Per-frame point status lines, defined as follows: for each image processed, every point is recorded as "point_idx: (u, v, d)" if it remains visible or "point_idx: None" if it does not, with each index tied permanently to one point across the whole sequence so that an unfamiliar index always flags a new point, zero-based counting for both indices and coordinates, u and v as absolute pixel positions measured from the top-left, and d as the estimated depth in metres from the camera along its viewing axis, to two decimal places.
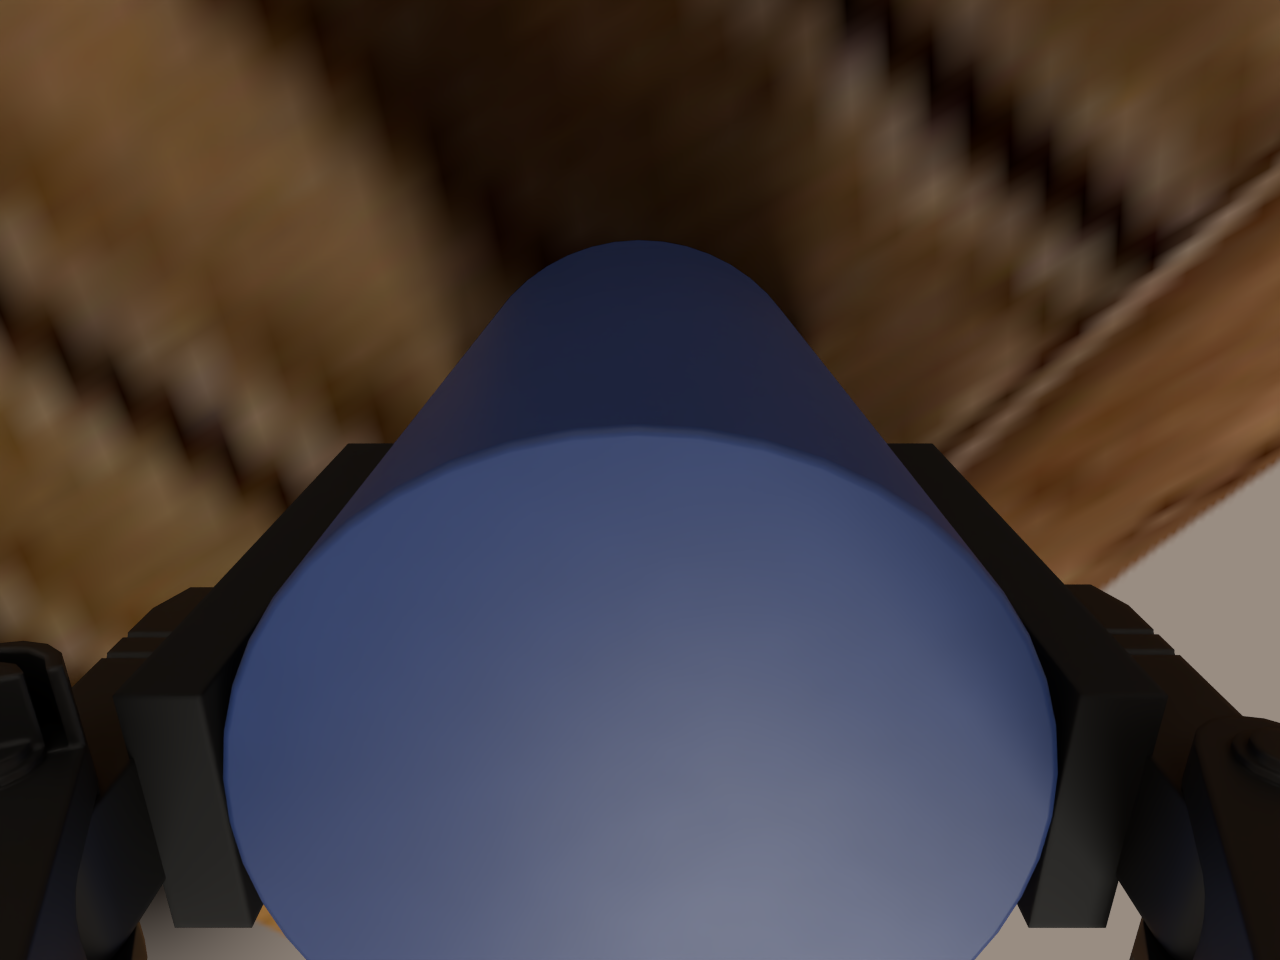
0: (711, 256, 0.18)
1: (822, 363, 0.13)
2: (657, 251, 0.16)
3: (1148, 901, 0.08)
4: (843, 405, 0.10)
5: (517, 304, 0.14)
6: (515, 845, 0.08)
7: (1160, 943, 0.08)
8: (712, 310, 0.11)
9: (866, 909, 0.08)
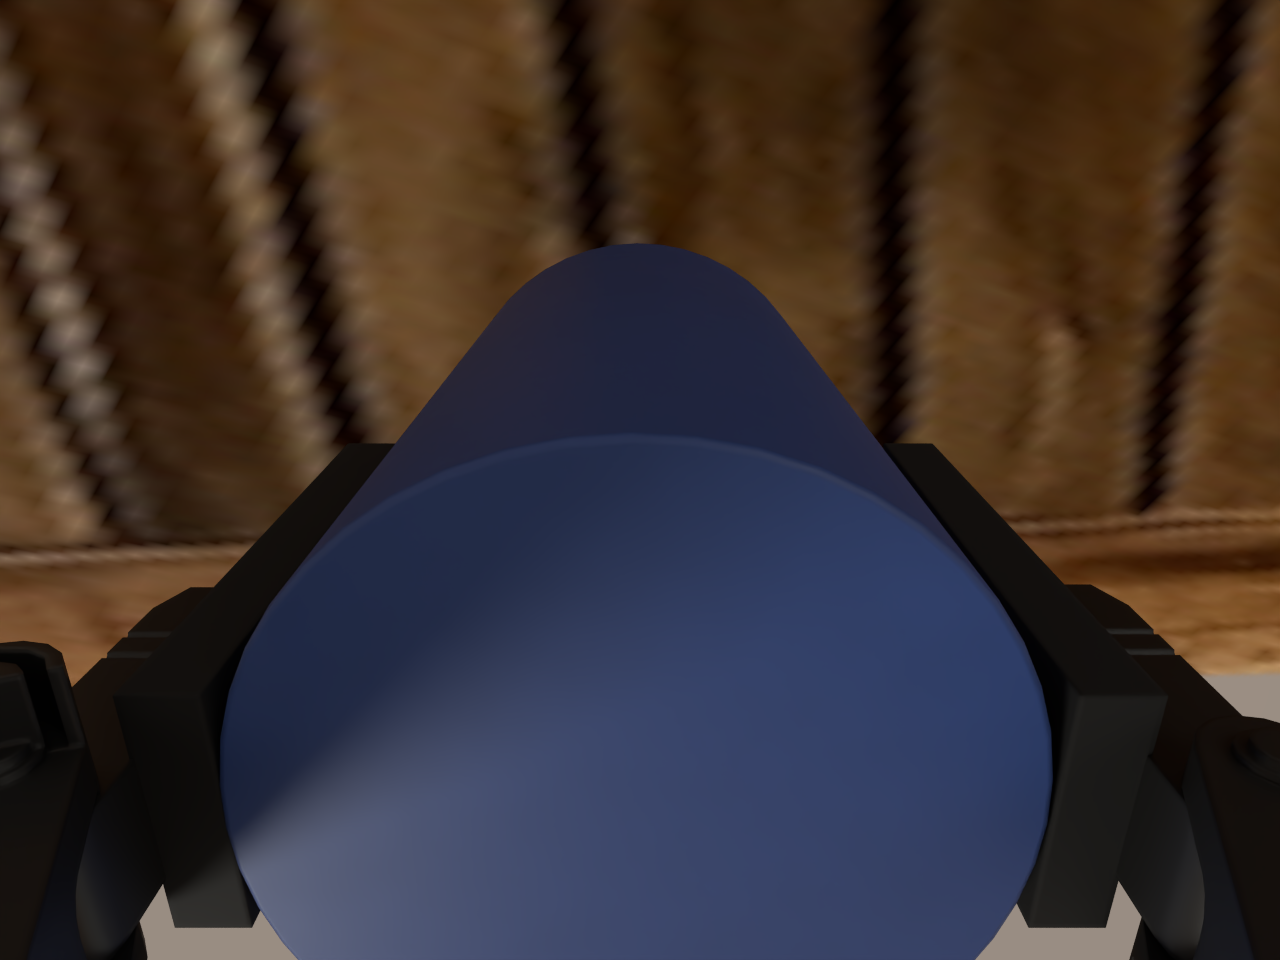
0: (709, 259, 0.18)
1: (819, 368, 0.13)
2: (655, 254, 0.16)
3: (1147, 901, 0.08)
4: (840, 411, 0.10)
5: (515, 308, 0.14)
6: (511, 851, 0.08)
7: (1160, 942, 0.08)
8: (709, 315, 0.11)
9: (862, 914, 0.08)
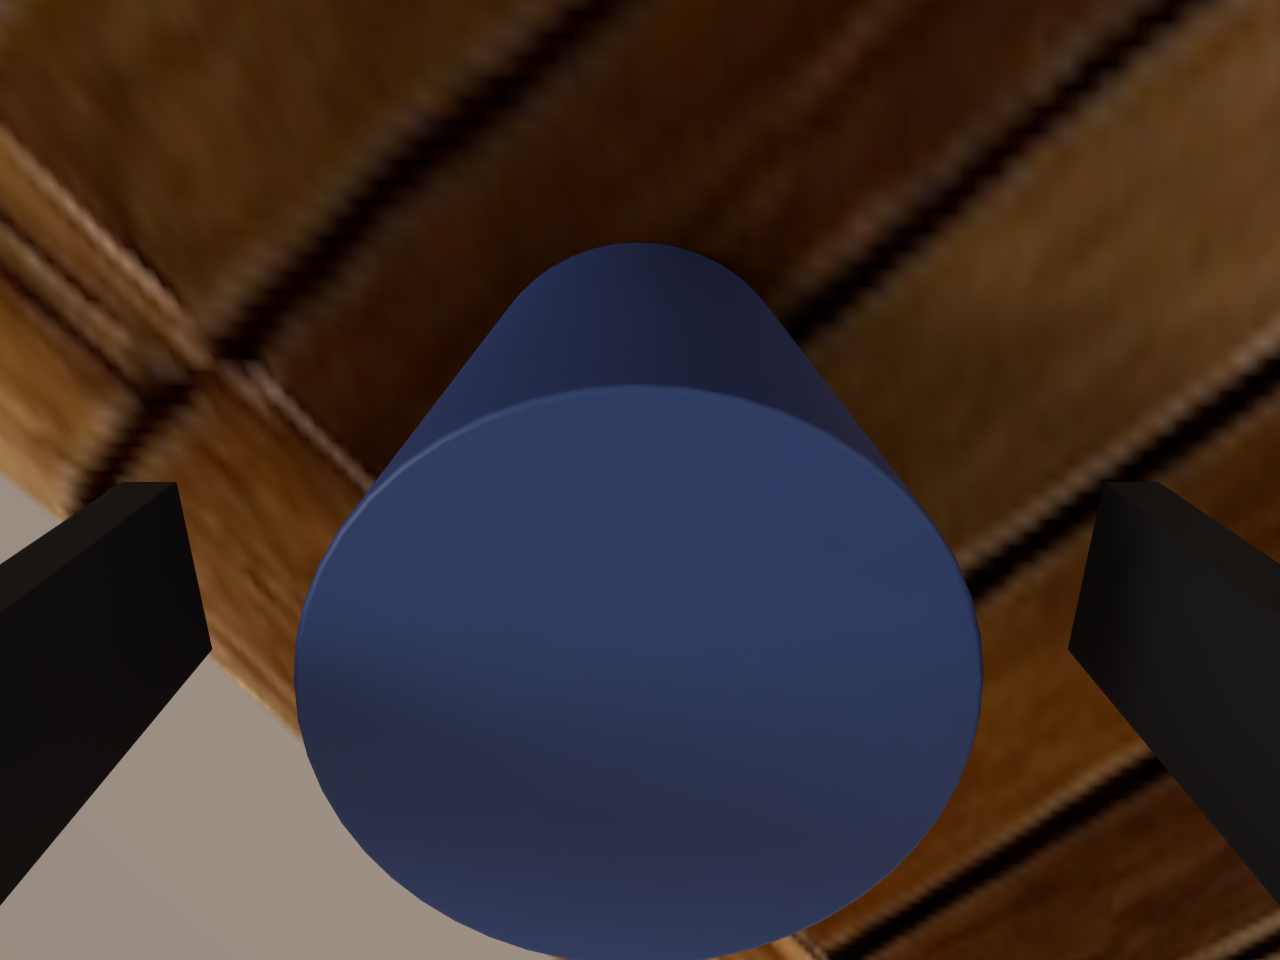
0: (703, 257, 0.19)
1: (800, 350, 0.15)
2: (654, 252, 0.18)
3: None
4: (811, 379, 0.11)
5: (528, 298, 0.16)
6: (534, 739, 0.10)
7: None
8: (701, 301, 0.13)
9: (828, 796, 0.10)
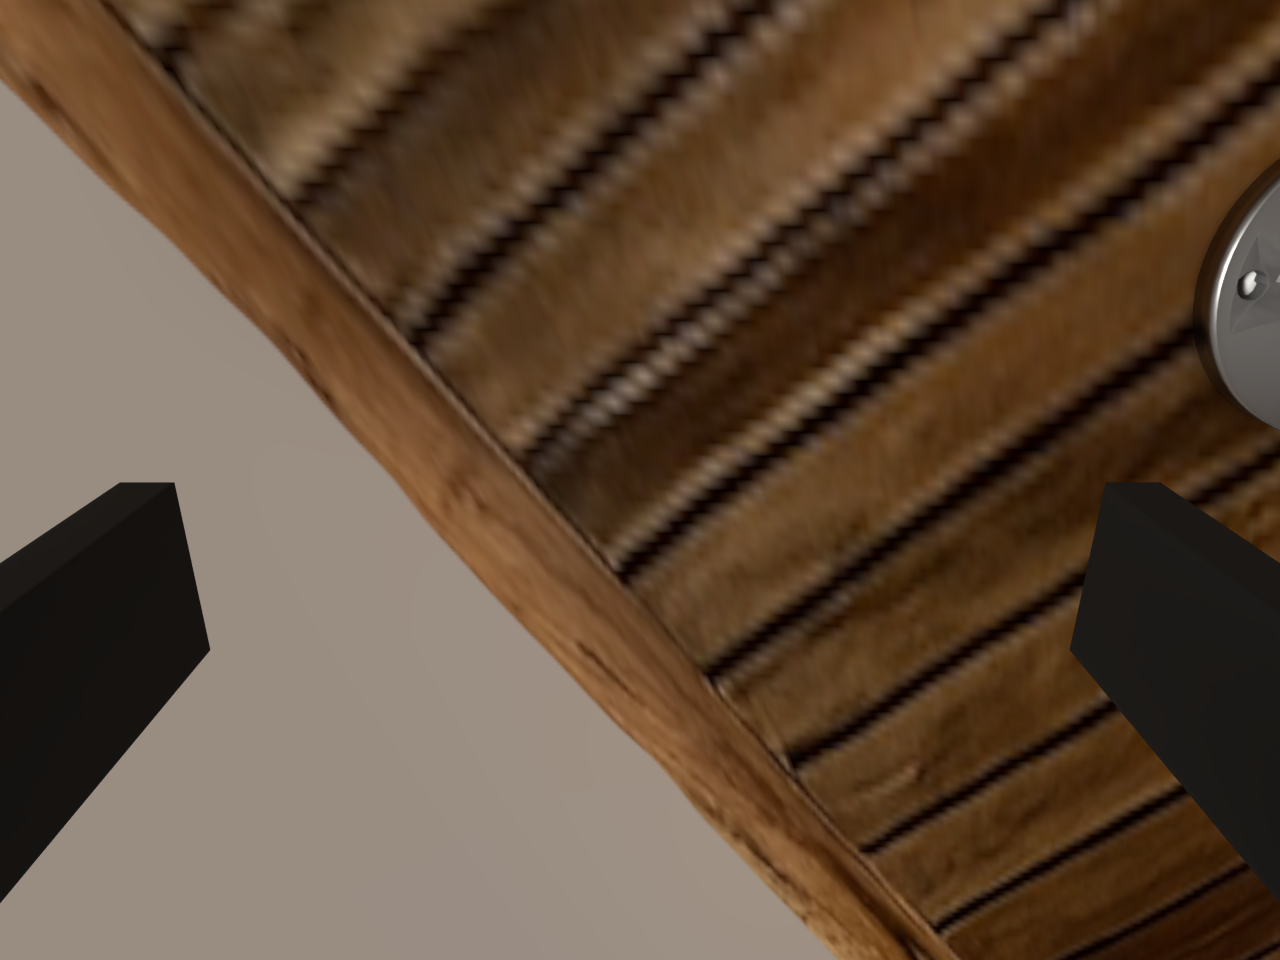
0: None
1: None
2: None
3: None
4: None
5: None
6: None
7: None
8: None
9: None
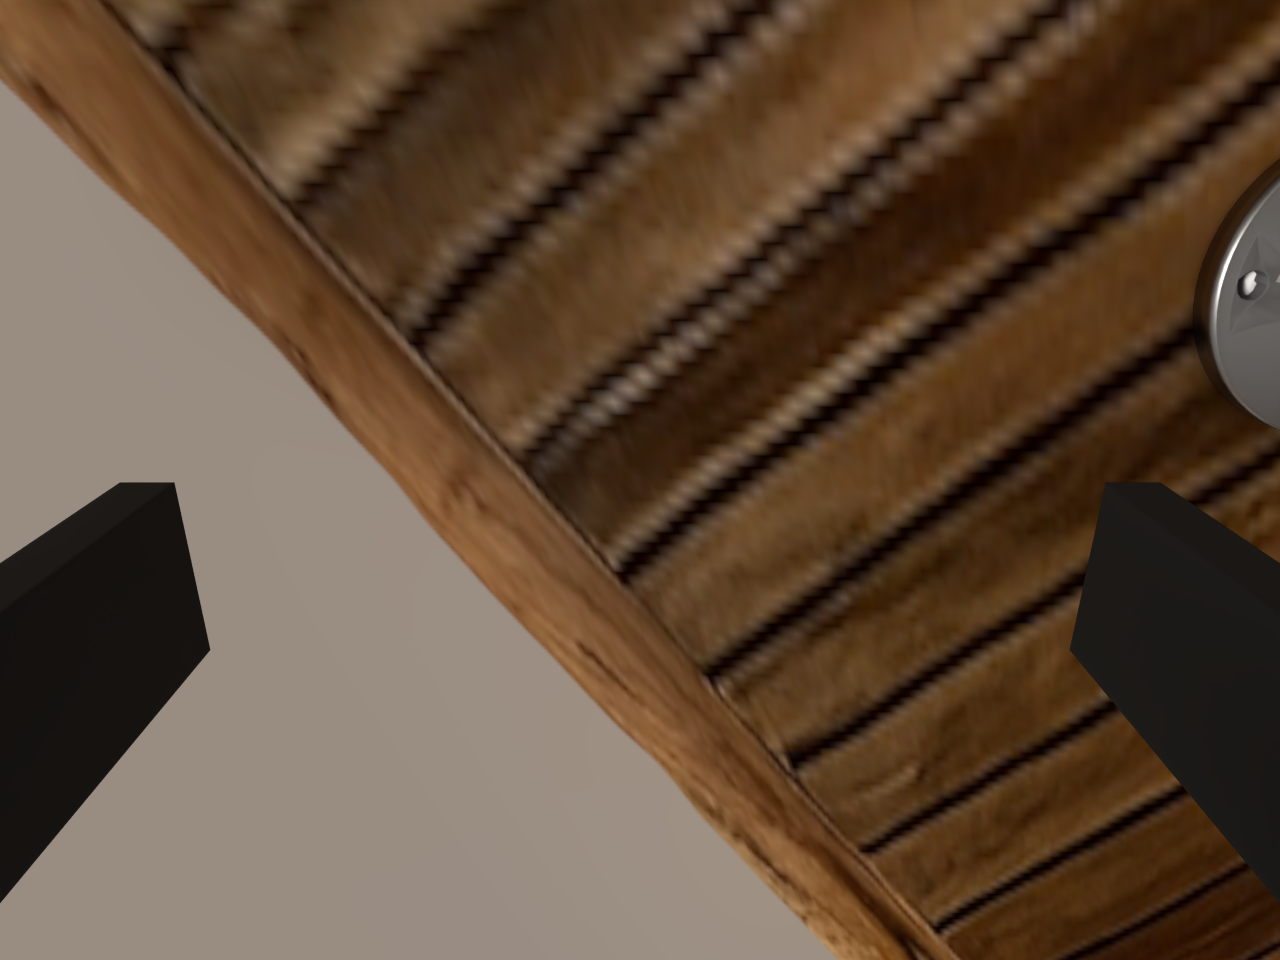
0: None
1: None
2: None
3: None
4: None
5: None
6: None
7: None
8: None
9: None
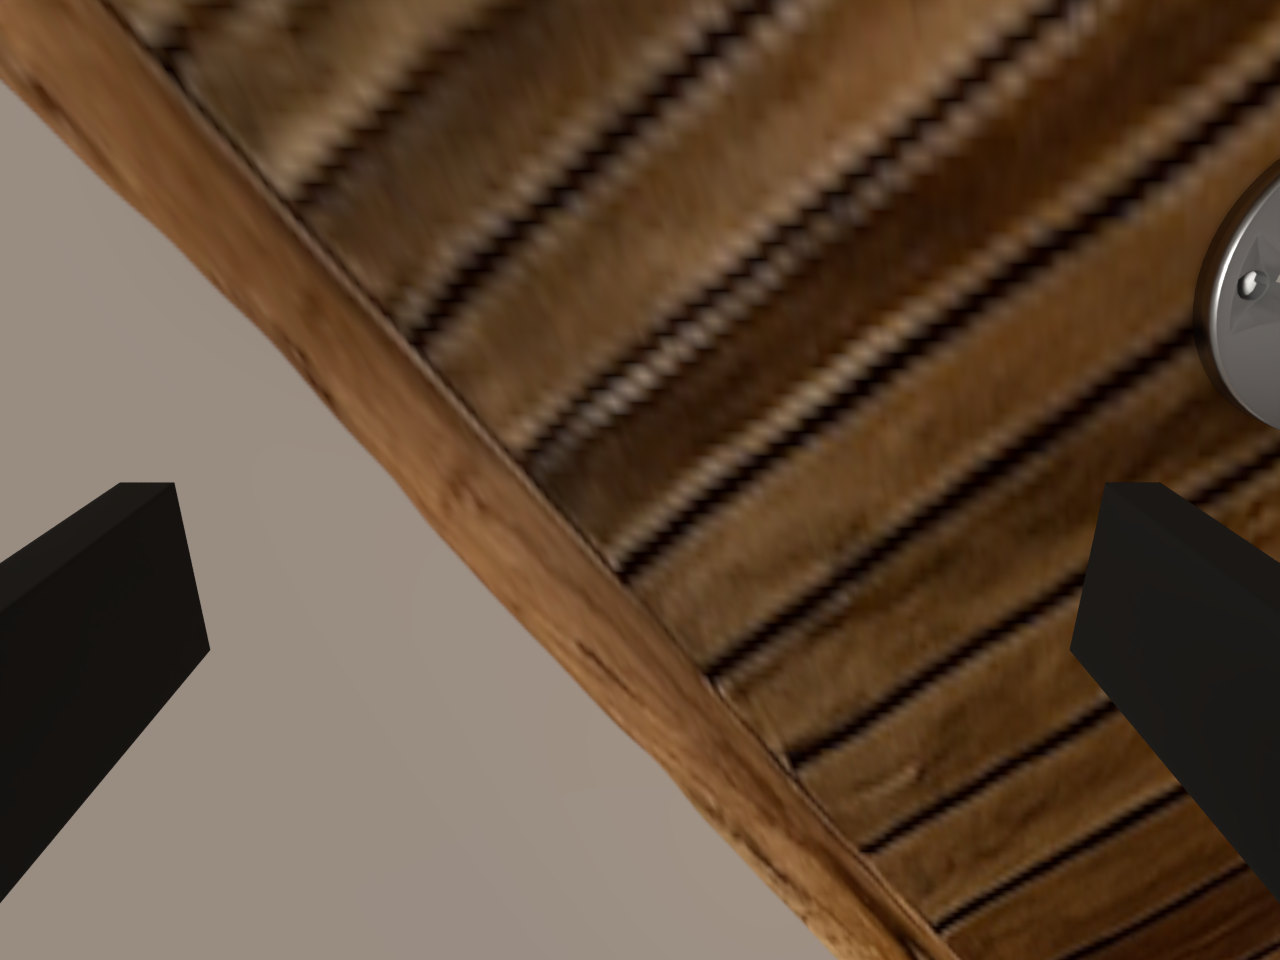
0: None
1: None
2: None
3: None
4: None
5: None
6: None
7: None
8: None
9: None
